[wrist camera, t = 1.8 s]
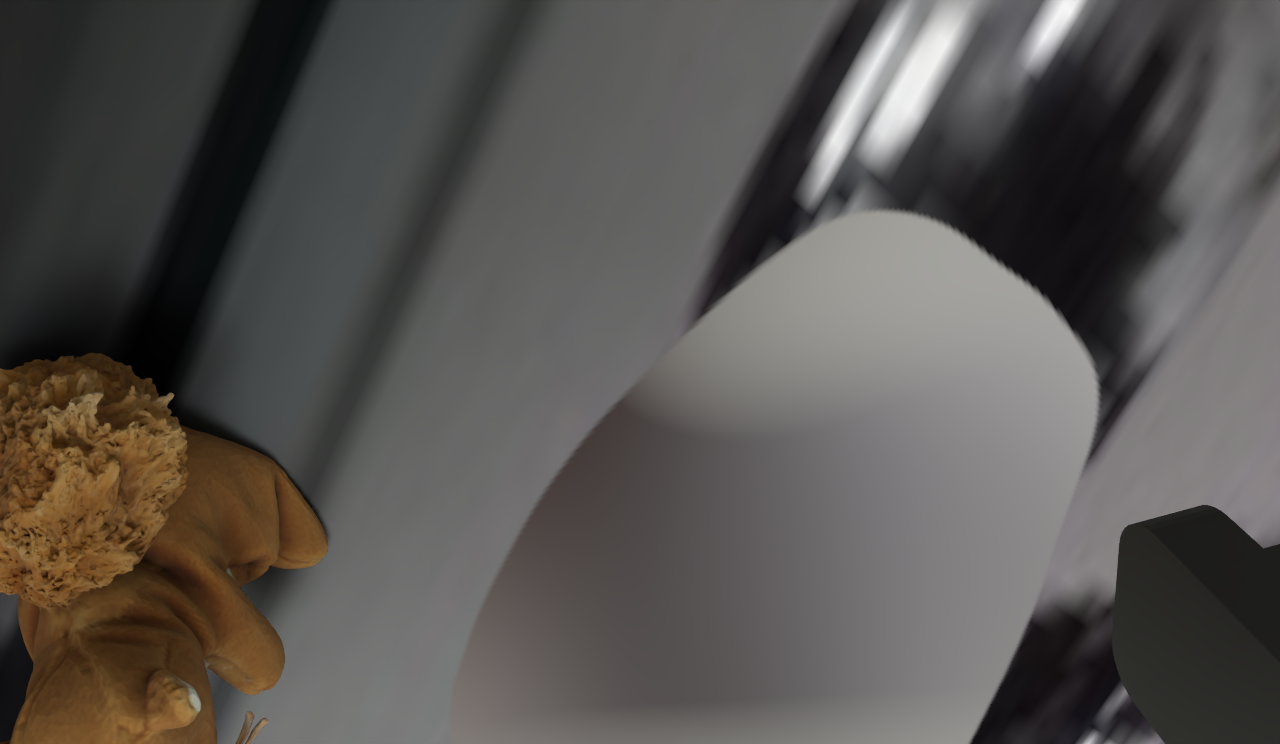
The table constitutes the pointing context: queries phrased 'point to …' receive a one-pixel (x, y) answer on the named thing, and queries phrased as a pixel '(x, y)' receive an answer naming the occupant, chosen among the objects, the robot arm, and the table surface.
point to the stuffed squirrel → (135, 556)
